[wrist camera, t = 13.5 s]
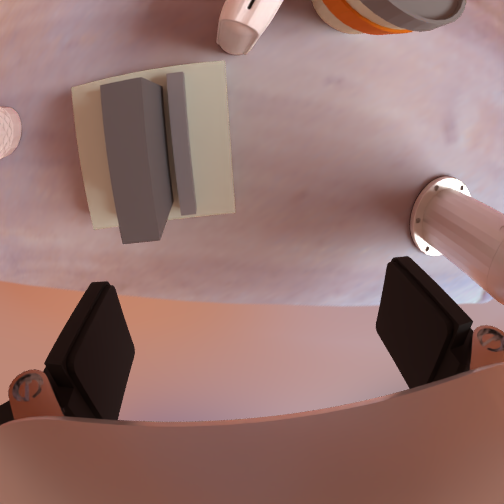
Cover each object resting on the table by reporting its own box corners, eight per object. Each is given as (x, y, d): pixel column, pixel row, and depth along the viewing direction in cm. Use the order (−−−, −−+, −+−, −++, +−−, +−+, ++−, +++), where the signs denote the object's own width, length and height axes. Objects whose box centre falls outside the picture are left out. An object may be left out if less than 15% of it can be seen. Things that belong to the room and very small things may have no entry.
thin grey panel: (162, 86, 26) (141, 77, 18) (173, 201, 32) (160, 240, 23) (130, 91, 26) (96, 86, 17) (143, 205, 31) (119, 244, 23)
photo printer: (248, -22, 25) (267, -73, 14) (283, -9, 26) (316, -52, 15) (210, 47, 29) (211, 16, 18) (246, 61, 30) (265, 37, 19)
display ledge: (223, 65, 30) (226, 57, 24) (232, 201, 37) (237, 219, 31) (85, 88, 28) (63, 87, 23) (104, 217, 35) (87, 237, 30)
